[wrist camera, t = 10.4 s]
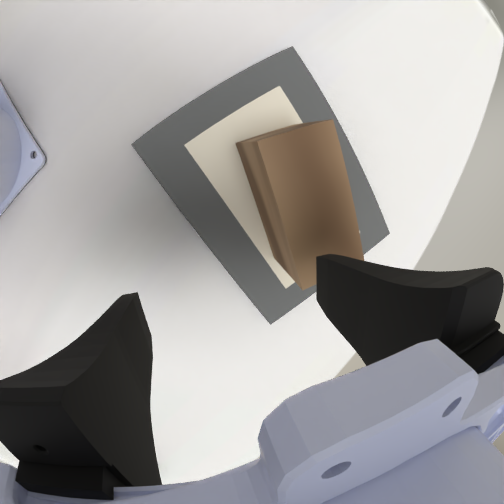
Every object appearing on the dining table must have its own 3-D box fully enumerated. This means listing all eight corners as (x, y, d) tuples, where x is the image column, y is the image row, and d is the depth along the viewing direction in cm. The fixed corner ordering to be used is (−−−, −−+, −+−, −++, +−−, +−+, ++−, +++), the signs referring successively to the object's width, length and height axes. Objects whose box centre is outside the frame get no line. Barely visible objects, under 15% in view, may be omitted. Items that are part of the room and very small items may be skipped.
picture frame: (132, 144, 16) (130, 144, 16) (289, 48, 16) (293, 45, 16) (268, 320, 23) (271, 326, 22) (385, 231, 23) (391, 234, 22)
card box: (273, 257, 20) (302, 290, 16) (235, 142, 17) (257, 141, 13) (325, 235, 21) (364, 261, 16) (294, 124, 18) (333, 119, 13)
